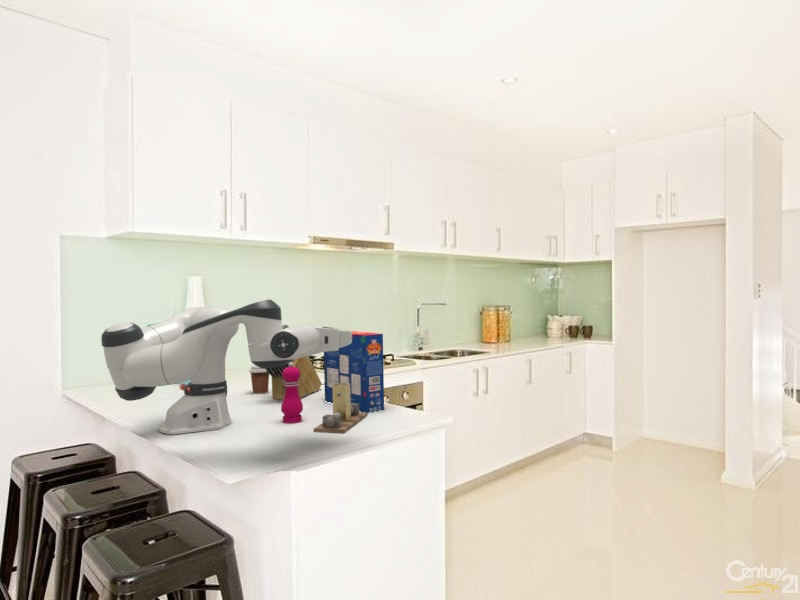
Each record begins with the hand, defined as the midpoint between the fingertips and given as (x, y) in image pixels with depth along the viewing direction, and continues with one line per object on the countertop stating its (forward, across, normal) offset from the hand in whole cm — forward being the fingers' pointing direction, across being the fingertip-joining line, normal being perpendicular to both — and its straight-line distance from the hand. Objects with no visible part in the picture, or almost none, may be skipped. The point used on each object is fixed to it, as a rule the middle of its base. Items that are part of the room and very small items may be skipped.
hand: (326, 335), depth 166 cm
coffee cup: (+57, -54, -30) cm, 84 cm away
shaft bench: (+12, 0, -30) cm, 32 cm away
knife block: (+52, -36, -30) cm, 70 cm away
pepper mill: (+12, -18, -30) cm, 37 cm away
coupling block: (+12, 0, -29) cm, 31 cm away
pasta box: (+39, -6, -30) cm, 50 cm away
